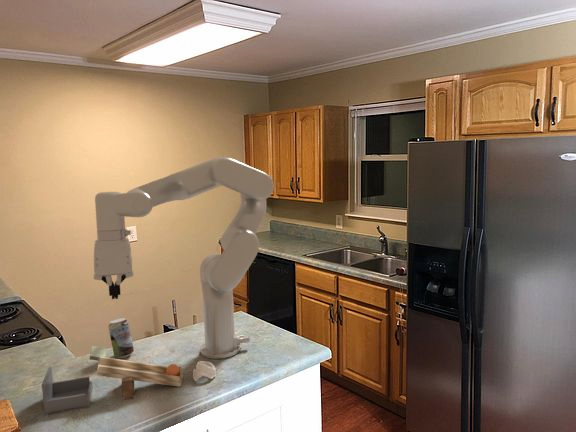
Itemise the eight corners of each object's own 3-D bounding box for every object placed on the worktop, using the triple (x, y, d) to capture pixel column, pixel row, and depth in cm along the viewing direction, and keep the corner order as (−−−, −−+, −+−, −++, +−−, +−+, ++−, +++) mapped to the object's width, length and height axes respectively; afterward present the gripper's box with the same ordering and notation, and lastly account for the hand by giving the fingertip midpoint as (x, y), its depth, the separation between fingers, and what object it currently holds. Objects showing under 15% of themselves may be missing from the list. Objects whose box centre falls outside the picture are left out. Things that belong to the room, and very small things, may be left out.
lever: (174, 365, 141) (177, 352, 141) (179, 391, 126) (183, 377, 126) (90, 353, 133) (94, 339, 133) (84, 379, 117) (89, 363, 117)
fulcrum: (134, 381, 130) (132, 363, 129) (134, 398, 121) (133, 379, 120) (123, 383, 129) (121, 364, 128) (122, 400, 120) (120, 381, 119)
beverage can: (127, 360, 143) (124, 323, 141) (106, 359, 145) (103, 322, 143) (138, 352, 149) (135, 316, 147) (117, 350, 151) (114, 315, 149)
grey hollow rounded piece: (190, 376, 135) (188, 360, 134) (213, 369, 137) (210, 353, 137) (196, 386, 127) (193, 369, 127) (219, 379, 130) (217, 362, 129)
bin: (92, 388, 127) (90, 360, 126) (89, 407, 117) (86, 377, 116) (51, 395, 124) (48, 366, 122) (44, 415, 114) (41, 384, 113)
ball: (177, 374, 130) (180, 362, 130) (178, 380, 127) (181, 368, 127) (164, 373, 129) (167, 361, 129) (165, 379, 126) (168, 366, 126)
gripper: (139, 231, 137) (142, 291, 139) (84, 234, 132) (88, 296, 135) (139, 235, 130) (142, 298, 132) (81, 239, 125) (85, 304, 128)
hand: (115, 297), depth 133 cm, fingers closed
